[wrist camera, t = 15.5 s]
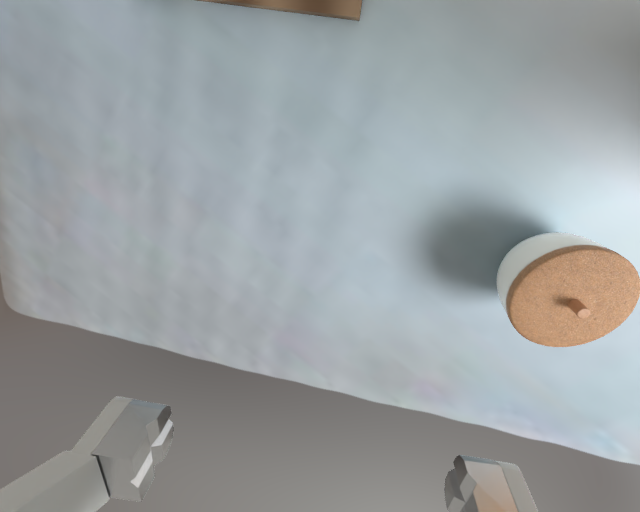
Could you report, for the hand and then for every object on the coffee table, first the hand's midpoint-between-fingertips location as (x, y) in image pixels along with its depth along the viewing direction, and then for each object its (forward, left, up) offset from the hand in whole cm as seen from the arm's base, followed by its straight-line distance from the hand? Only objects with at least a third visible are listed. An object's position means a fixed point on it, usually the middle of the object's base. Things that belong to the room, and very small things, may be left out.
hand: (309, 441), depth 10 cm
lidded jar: (-22, +6, -29) cm, 37 cm away
